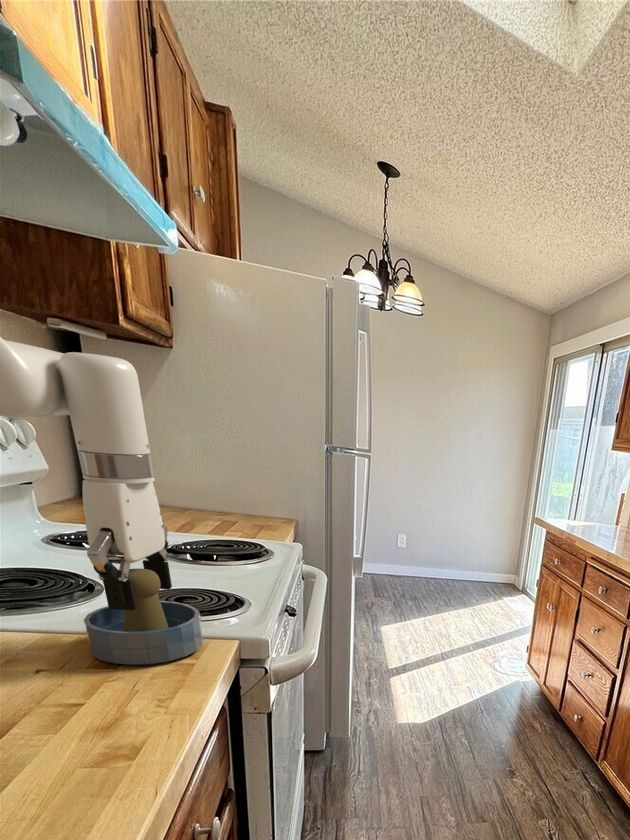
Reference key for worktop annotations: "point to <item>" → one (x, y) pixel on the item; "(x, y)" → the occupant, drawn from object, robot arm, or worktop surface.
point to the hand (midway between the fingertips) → (142, 598)
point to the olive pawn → (145, 603)
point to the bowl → (144, 636)
